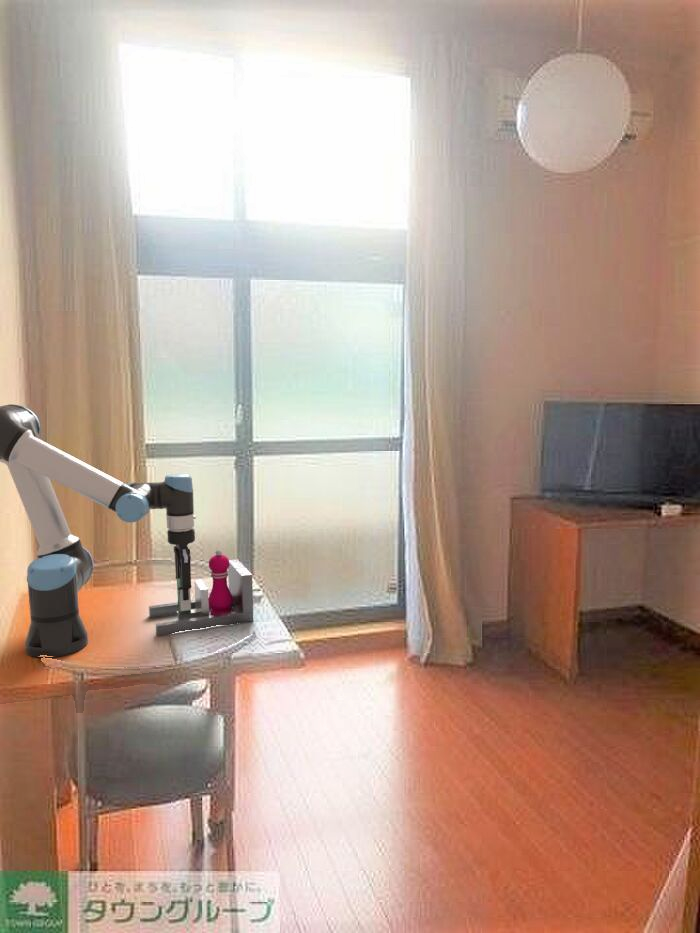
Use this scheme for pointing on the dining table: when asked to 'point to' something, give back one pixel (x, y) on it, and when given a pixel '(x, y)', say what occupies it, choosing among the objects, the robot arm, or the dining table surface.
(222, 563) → the pepper mill
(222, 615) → the frame
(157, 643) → the dining table surface
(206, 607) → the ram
